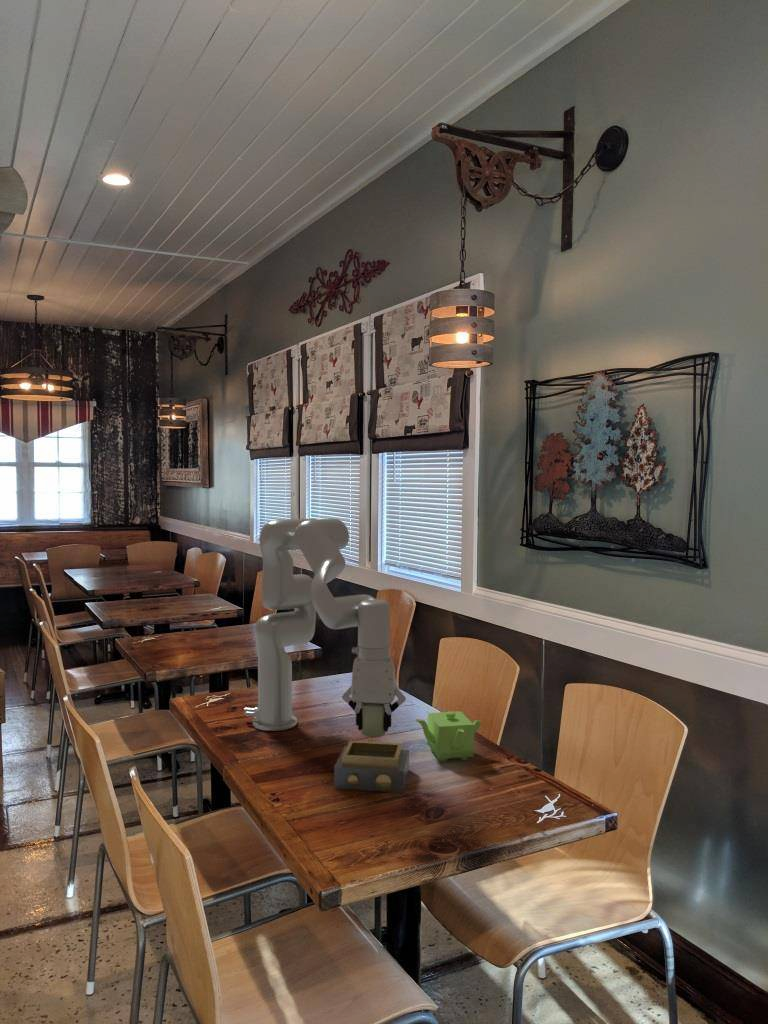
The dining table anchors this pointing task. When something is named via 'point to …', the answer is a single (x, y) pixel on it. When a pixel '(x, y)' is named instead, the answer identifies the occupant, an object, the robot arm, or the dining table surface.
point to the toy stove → (372, 767)
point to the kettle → (450, 734)
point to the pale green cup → (373, 719)
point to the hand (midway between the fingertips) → (373, 728)
